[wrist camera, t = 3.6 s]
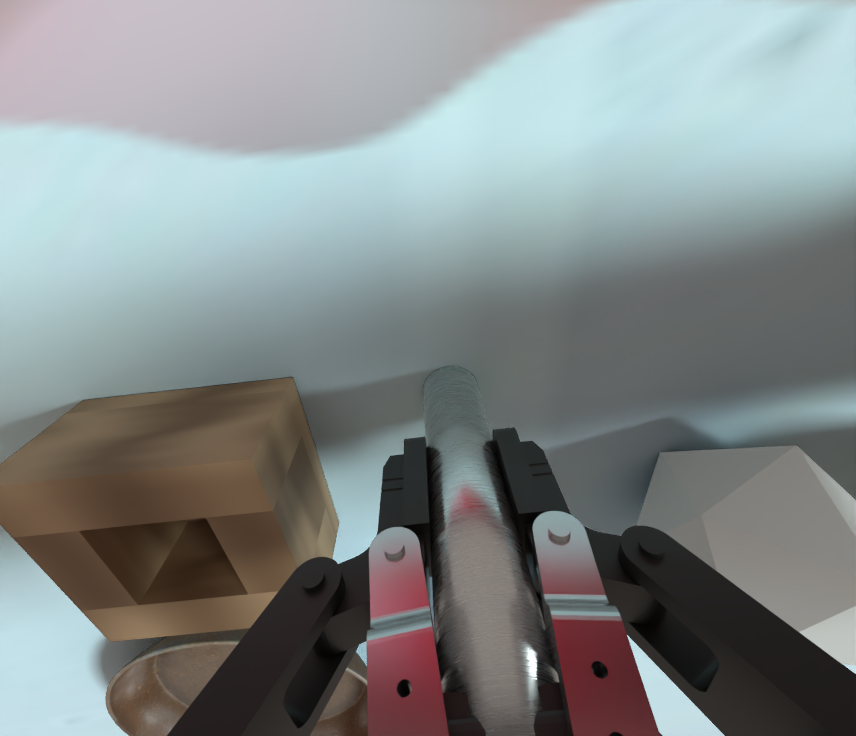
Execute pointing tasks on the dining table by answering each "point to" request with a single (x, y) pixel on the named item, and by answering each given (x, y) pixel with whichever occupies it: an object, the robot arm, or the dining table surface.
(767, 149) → the dining table surface
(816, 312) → the dining table surface
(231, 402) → the bore block
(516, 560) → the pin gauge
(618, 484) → the dining table surface
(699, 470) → the die
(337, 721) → the plant saucer
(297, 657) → the robot arm
